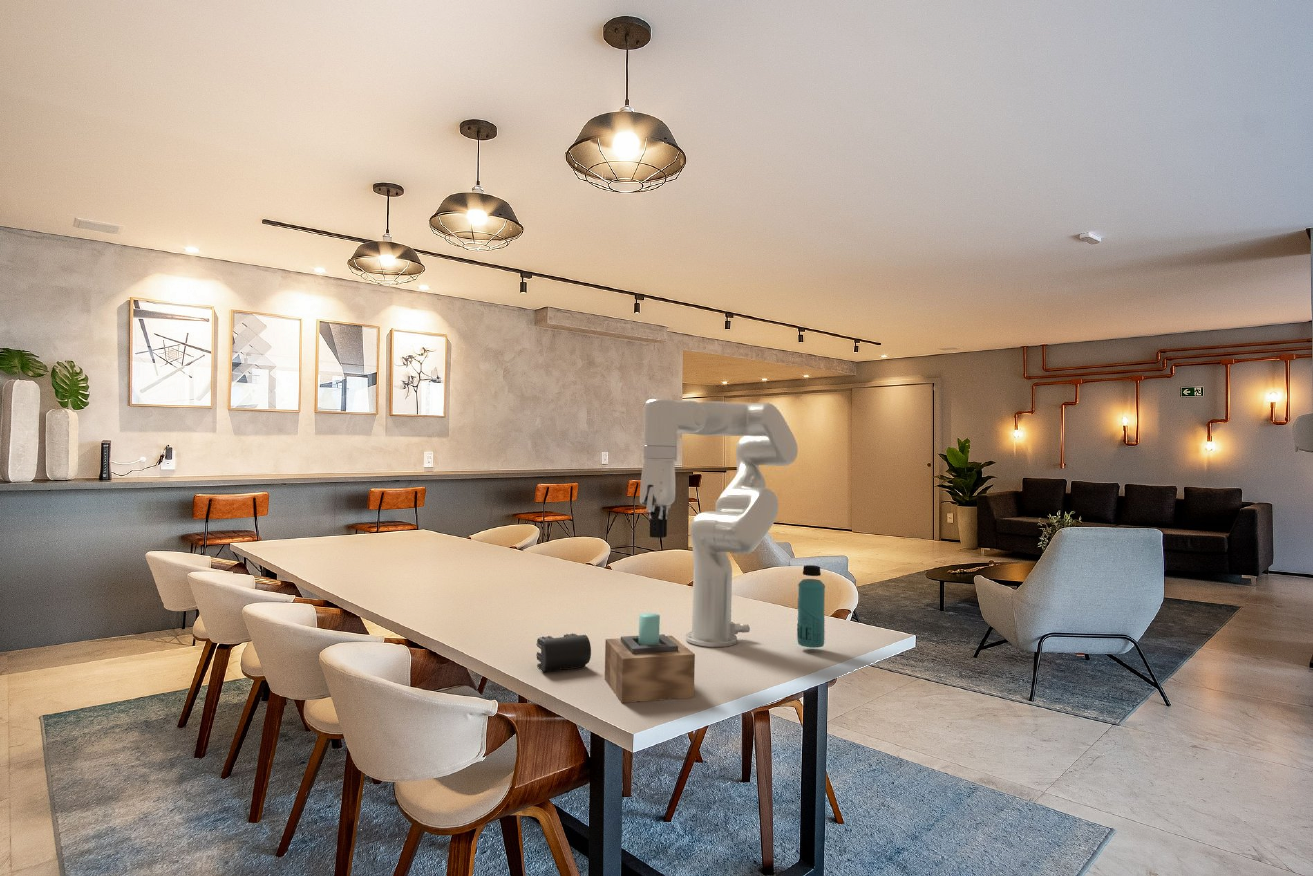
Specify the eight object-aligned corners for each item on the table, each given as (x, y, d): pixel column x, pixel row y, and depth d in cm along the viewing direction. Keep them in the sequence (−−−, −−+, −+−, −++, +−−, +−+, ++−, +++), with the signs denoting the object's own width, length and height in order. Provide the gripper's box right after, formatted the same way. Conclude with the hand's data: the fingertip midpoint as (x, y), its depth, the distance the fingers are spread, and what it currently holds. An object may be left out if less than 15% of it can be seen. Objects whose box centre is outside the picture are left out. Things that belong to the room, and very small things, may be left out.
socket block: (670, 674, 146) (671, 630, 146) (693, 697, 133) (695, 649, 133) (604, 679, 142) (605, 634, 142) (621, 703, 129) (622, 653, 129)
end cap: (545, 676, 143) (546, 643, 143) (534, 667, 149) (535, 634, 149) (591, 670, 148) (591, 638, 148) (578, 661, 154) (579, 630, 154)
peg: (655, 658, 140) (656, 612, 140) (661, 664, 136) (662, 617, 136) (635, 659, 139) (636, 613, 139) (641, 665, 135) (642, 618, 135)
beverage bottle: (827, 649, 168) (828, 564, 169) (821, 656, 162) (823, 568, 163) (800, 645, 171) (801, 562, 172) (793, 652, 165) (795, 566, 166)
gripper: (657, 454, 166) (656, 532, 166) (630, 453, 152) (628, 539, 152) (687, 455, 163) (686, 535, 163) (662, 454, 149) (660, 541, 149)
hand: (658, 536), depth 157 cm, fingers closed
